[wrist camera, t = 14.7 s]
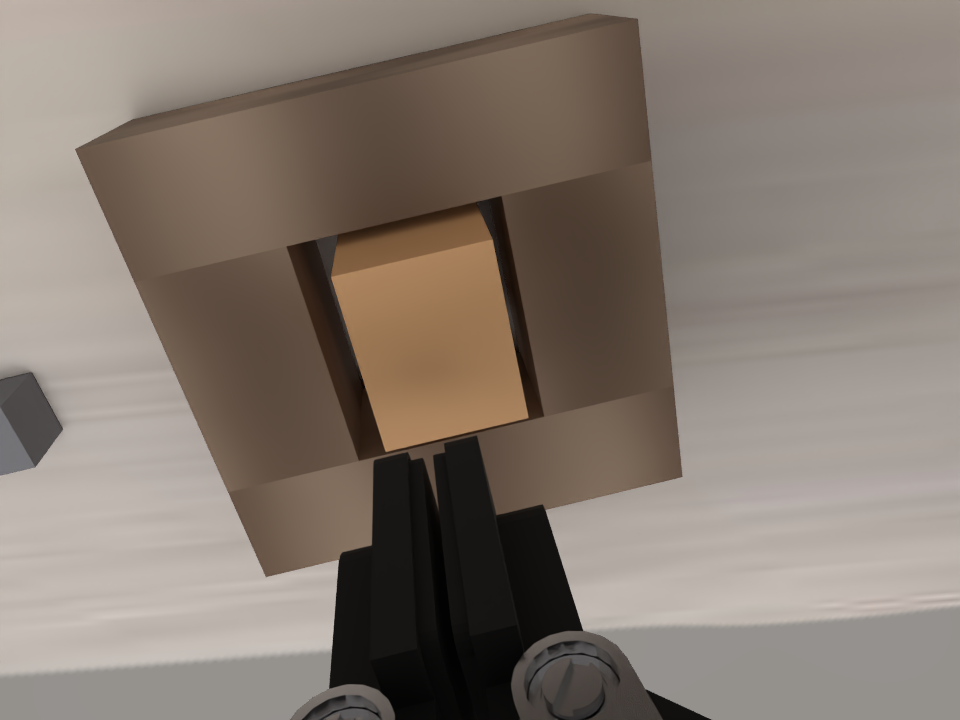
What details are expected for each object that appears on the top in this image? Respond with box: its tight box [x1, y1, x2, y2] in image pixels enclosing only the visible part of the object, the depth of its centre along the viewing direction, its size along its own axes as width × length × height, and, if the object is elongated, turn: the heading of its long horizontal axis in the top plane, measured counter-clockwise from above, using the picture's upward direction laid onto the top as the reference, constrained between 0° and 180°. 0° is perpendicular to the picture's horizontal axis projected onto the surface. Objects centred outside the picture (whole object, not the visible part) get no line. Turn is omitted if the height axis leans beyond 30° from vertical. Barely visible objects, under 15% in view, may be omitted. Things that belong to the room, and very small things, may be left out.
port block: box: [75, 14, 682, 577], centre depth 20 cm, size 12×12×4 cm
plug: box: [331, 202, 529, 452], centre depth 19 cm, size 3×4×6 cm
